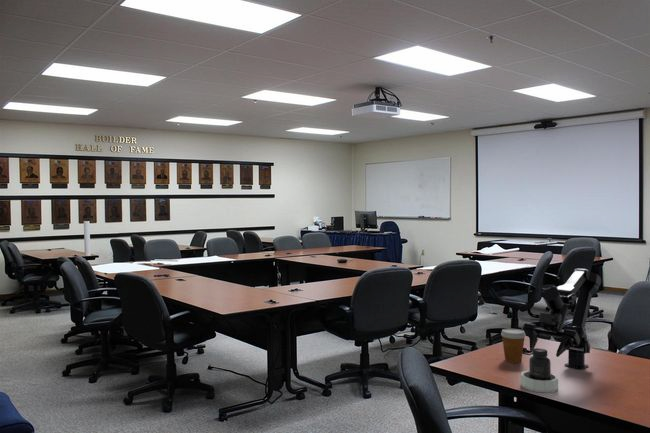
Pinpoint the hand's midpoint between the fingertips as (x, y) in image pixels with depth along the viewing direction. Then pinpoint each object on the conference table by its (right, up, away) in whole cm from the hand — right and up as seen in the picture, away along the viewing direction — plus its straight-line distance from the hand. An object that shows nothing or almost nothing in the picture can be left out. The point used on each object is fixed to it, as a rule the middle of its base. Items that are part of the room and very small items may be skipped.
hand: (543, 353), depth 187 cm
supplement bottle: (-2, -10, -2) cm, 11 cm away
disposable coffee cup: (0, -11, +30) cm, 31 cm away
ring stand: (-2, -11, -2) cm, 11 cm away
